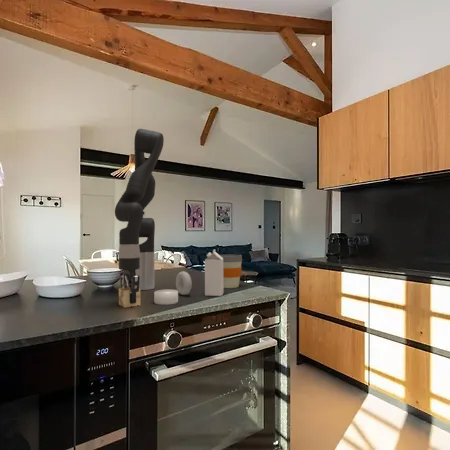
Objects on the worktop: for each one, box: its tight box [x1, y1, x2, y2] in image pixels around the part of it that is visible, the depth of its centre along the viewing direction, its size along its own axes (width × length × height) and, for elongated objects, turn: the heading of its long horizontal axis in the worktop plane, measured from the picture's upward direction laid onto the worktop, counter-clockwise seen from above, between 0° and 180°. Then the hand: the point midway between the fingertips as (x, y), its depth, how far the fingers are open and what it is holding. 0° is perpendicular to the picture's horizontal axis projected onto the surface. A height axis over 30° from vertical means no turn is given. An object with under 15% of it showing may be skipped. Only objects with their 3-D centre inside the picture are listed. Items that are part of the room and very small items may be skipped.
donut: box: [175, 270, 193, 296], centre depth 144 cm, size 10×4×10 cm, turn 39°
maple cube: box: [118, 287, 142, 308], centre depth 126 cm, size 6×6×6 cm
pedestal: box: [153, 288, 179, 305], centre depth 130 cm, size 9×9×4 cm
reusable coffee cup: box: [219, 253, 243, 289], centre depth 164 cm, size 13×13×15 cm
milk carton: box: [204, 249, 225, 297], centre depth 145 cm, size 7×7×19 cm
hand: (129, 301), depth 126 cm, fingers closed on maple cube, 6 cm apart
